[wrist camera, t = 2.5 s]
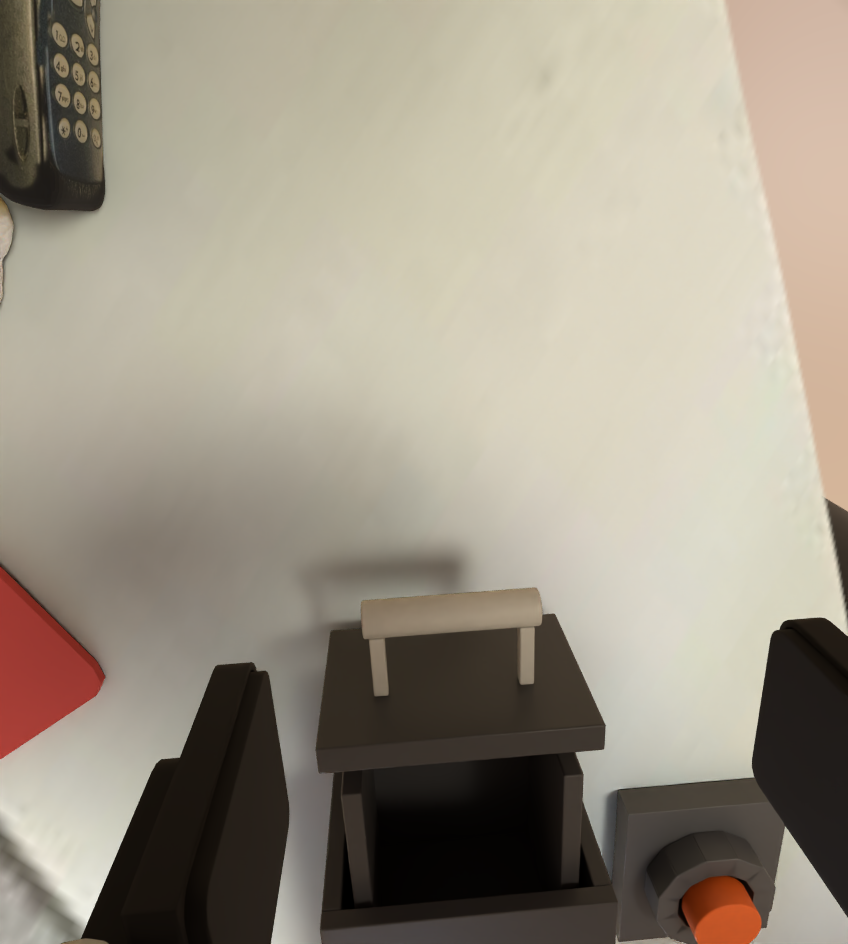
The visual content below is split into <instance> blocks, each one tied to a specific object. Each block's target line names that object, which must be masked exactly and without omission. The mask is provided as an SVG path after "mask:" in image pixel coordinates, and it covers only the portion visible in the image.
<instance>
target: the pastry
mask: <svg viewBox="0 0 848 944" xmlns="http://www.w3.org/2000/svg"><path fill="white" fill-rule="evenodd" d="M13 228H14V226H13V221H12V218H11V215H10V213H9V210H8V207H7V205H6V204H5V202H4V201H3V200H2V198H1V197H0V303H1V299H2V296H3V289H2V284H3V267H2V260H3V258H4V256H5V255H6V254H7V252H8V250H9V248H10V245H11V241H12V232H13Z"/></svg>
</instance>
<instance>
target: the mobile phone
mask: <svg viewBox="0 0 848 944" xmlns="http://www.w3.org/2000/svg"><path fill="white" fill-rule="evenodd" d="M99 24H100V0H0V193H1V194H3V195H4V196H5V197H7V198H8V199H10V200H11V201H13V202H16V203H19V204H22V205H25V206H29V207H33V208H38V209H43V210H82V211H93V210H96V209H98V208H100V206H101V205H102V202H103V199H104V195H105V179H104V167H103V144H102V109H101V72H100V39H99Z"/></svg>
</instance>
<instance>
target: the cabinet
mask: <svg viewBox="0 0 848 944" xmlns="http://www.w3.org/2000/svg"><path fill="white" fill-rule="evenodd" d="M342 775H343V772H334V777H333V788H332V799H331V811H330V822H329V834H328V845H327V856H326V868H325V879H324V890H323V902H322V914H321V924H320V933H321V940H322V944H615V939H616V925H617V911H618V900H617V897H616V894H615V892H614V889H613V886H612V883H611V881H610V878H609V875H608V872H607V869H606V866H605V864H604V861H603V858H602V855H601V852H600V849H599V847H598V844H597V841H596V838H595V835H594V832H593V830H592V827H591V824H590V821H589V818H588V815H587V813H586V810H585V807H584V804H583V801H582V820H581V844H580V867H579V888H574V889H563V890H552V891H542V892H531V893H520V894H509V895H499V896H488V897H477V898H466V899H456V900H445V901H434V902H424V903H413V904H402V905H391V906H381V907H370V908H359V909H355V908H354V899H353V891H352V883H351V874H350V866H349V858H348V849H347V841H346V833H345V824H344V816H343V808H342V799H341V789H342Z"/></svg>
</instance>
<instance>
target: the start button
mask: <svg viewBox="0 0 848 944" xmlns="http://www.w3.org/2000/svg"><path fill="white" fill-rule="evenodd" d="M682 910H683V913H684V915H685V917H686V920H687V922H688V924H689V926H690V929H691V931H692V933H693V935H694V938H695V940H696V942H697V943H698V944H749V943H750V942H751V941H753V940H754V939H755V937H756V936H757V935H758V933H759V931H760V929H761V924H762V922H761V917H760V914H759V913H758V911H757V909H756V907H755V905H754V904H753V902H752V900H751V898H750V896H749V894H748V893H747V891H746V889H745V887H744V885H743V884H742V883H741V882H740V881H738V880H737V879H735V878H733V877H730V876H717V877H709V878H707V879H705V880H703V881H701V882H699V883H696V884H694V885H692V886H691V887H690V888H689V889H688V890H687V891H686V892H685V894H684V896H683V898H682Z"/></svg>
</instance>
